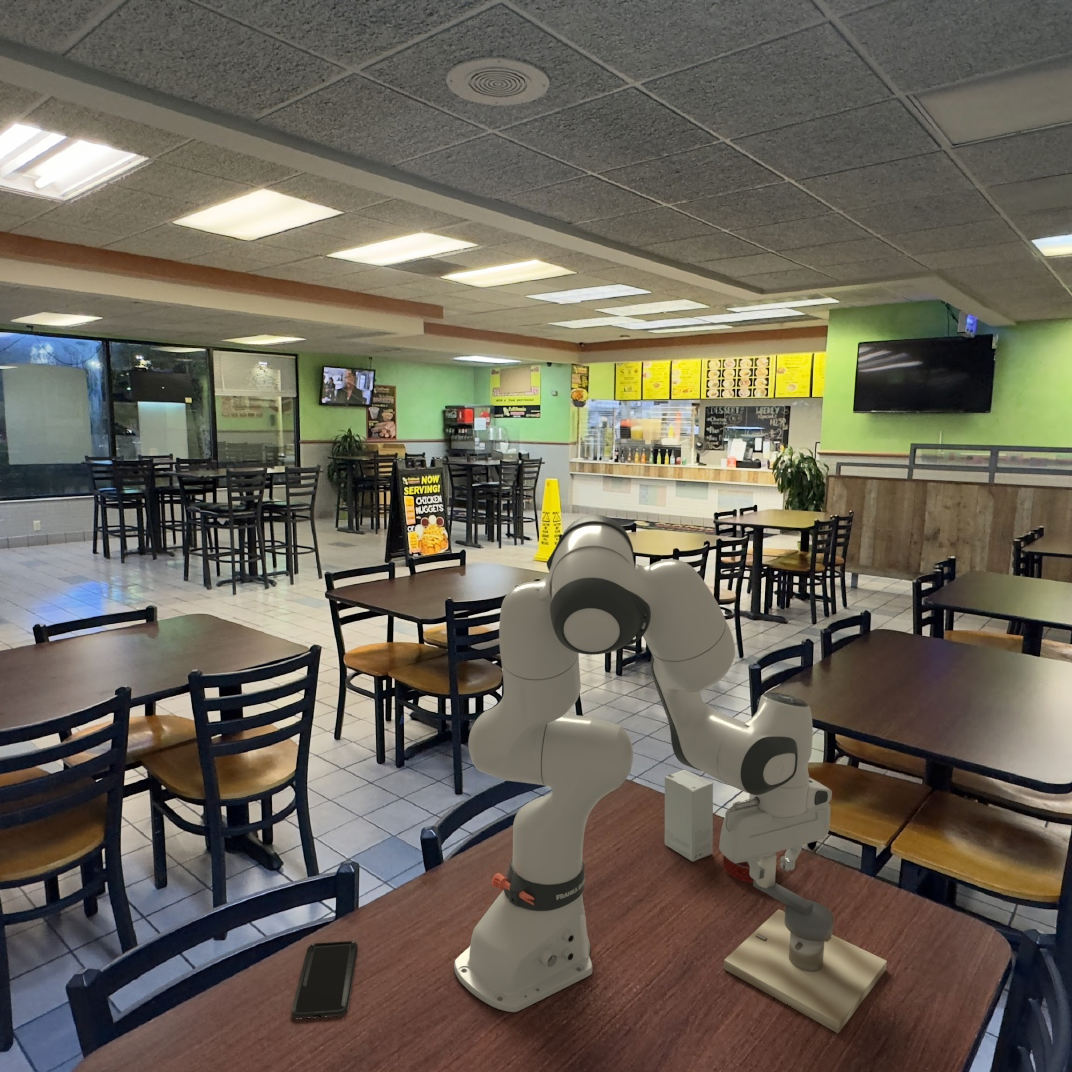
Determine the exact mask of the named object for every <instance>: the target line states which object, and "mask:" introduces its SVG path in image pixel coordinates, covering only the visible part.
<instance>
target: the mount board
mask: <svg viewBox="0 0 1072 1072" xmlns="http://www.w3.org/2000/svg"><path fill="white" fill-rule="evenodd" d="M784 919H785V910H784V911H783V910H782V909H777V910H776V911H775V912H774V913H773V914H772V915H771V916H770V917H769V918H768V919H766V921H764V922H763V923H762V924H761V925H760V926H759V927H758V928H757V929H756V930H755V931H754V932H752V933H751V934H750V935H749V936H748V937H747V938H745V940H744V941H743V942H742V943H741V944H739V945H738V946H737V947H736V948H735V949H734V950H733V951H732V952H731V953H729V955H727V956H726V958H725V959H724V960H723V969H724V970H725V971H726V972H728V973H730V974H732V975H734V976H736V977H737V978H739V979H741V980H743V981H744V982H746V983H748V984H750V985H752V986H754V987H755V988H757V989H759V990H760V991H762V992H763V993H766V994H767V995H770V996H771V997H773V998H774V997H775V998H774V999H777V1000H778V1001H780V1002H781V1003H783V1004H785V1005H787V1004H788V1005H787V1006H789V1007H790V1006H791V1007H790V1008H792V1009H794V1010H796V1011H798V1012H799V1013H801V1014H803V1015H804V1016H807V1017H809V1018H810V1019H812V1020H813V1021H815V1022H817V1023H819V1024H821V1025H823V1026H824V1027H825V1028H826V1029H827V1028H828V1029H829V1030H831V1031H833V1032H835V1033H836V1034H839V1033H840V1032H841V1031H842V1029H844V1027H845V1026H846V1024H847V1023H848V1021H849V1020H851V1017H852V1016H853V1014H854V1013H855V1012H856V1011H857V1010H858V1008H859V1007H860V1005H861V1004H862V1002H863V1001H864V1000H865V998H866V997H867V996H868V994H869V993H870V992H871V990H872V989H873V988H874V987H875V985H876V984H877V982H879V979H880V978H881V977H882V976H883V974H885V972H886V970H887V962H888V960H886V959H884V958H882V957H880V956H877V955H875V954H873V953H872V952H870V951H867V950H865V949H864V948H860V947H859V946H857V945H855V944H852V943H850V942H848V941H846V940H844V939H842V938H840V937H838V936H836V935H834V934H832V935H831V937H830V938H829V939H827V940H824V941H809V940H805V939H802V938H800V937H797V936H796V935H794V934H793V933H791V932H790V931H789V930H788V929H787V927H786V926H785V923H784Z"/></svg>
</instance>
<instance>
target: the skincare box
mask: <svg viewBox="0 0 1072 1072" xmlns="http://www.w3.org/2000/svg"><path fill="white" fill-rule="evenodd" d="M713 798H714V783H713V782H712V781H709V780H707V779H705V778H703V777H701V776H698V775H696V774H694V773H692V772H691V771H688V770H686V769H683V770H680V771H677V772H673V773H671V774H668V775H666V776H664V845H665V846H666V847H668V848H670V849H672V850H673V851H675V852H676V853H678V854H679V855H681V856H682V857H684V858H686V859H687V860H689V861H690V862H696V861H698V860H700V859H703V858H706V857H708V856H711V855H713V852H714V850H713V847H714V846H713V843H714V839H713V838H714V833H713V831H714V828H713V827H714V820H713V819H714V818H713V817H714V816H713V815H714V807H713V806H714V799H713Z"/></svg>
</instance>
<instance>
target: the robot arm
mask: <svg viewBox="0 0 1072 1072" xmlns="http://www.w3.org/2000/svg"><path fill="white" fill-rule="evenodd" d="M546 567H547V570H548V573H547V575H546V576H545V577H544V578H543V579H540V580H536V581H535V580H534V581H527V582H524V583H521V584H519V585H517V586H515V587H513V588H512V589H511V590H509V591H508V592H507V594H506V595H505V597H504V598H503V600H502V603H501V608H500V615H499V616H500V617H499V627H498V628H499V629H498V635H499V636H498V638H499V639H498V641H499V652H500V653H499V654H500V661H501V669H502V678H503V679H502V680H503V681H502V682H503V695H502V698H501V699H500V701H499V702H498V703H497V704H496V705H494V706H493V707H492V708H490V709H487V710H485V711H483V713H481V714H480V715H479V716H478V717H477V718H476V720H475V721H474V722H473V724H472V726H471V729H470V731H469V734H468V735H469V736H468V753H469V757H470V759H471V761H472V764H473V766H474V767H475V768H476V770H477V771H479V772H481V773H484V774H486V775H489V776H491V777H495V778H498V779H501V780H503V781H509V782H517V783H524V784H525V783H526V784H531V785H532V784H533V785H539V786H545V787H548V788H550V789H551V792H550V793H548V794H545V795H543V796H540V797H537V798H535V799H533V800H530V801H529V802H527V803H526V804H524V805H523V806H522V807H521V808H519V810H518V812H517V813H516V815H515V817H514V819H513V820H514V821H513V823H512V858H511V861H510V863H509V867H508V869H507V872H506V877H505V876H504V875H503V874H502V873H500V872H497V873H495V874H494V875H493V878H492V879H491V884H492V886H493V887H495V888H498V889H499V891H501V893H500V894H499V895H498V896H497V897H496V898H495V900H494V902H493V903H492V904H491V906H490V907H489V908H488V910H487V911H486V912H485V914H484V915H483V916H482V918H481V919H480V920H479V921H478V922H477V924H476V925H475V927H474V928H473V930H472V931H473V932H472V934H471V939H470V945H469V946H468V947H467V948H466V949H465V950H464V951H463V952H462V953H460V955H458V957H456V959H455V960H454V966H453V968H454V973H455V976H456V977H457V979H458V980H459V982H460V983H461V984H462V986H464V987H465V988H466V990H468V992H470V993H471V994H472V995H474V996H475V997H476V998H478V999H479V1000H480V1001H482V1002H484V1003H485V1004H487V1005H489V1006H491V1007H492V1008H495V1009H497V1010H501V1011H505V1012H510V1013H517V1012H520V1011H521V1010H524V1009H526V1008H528V1007H530V1006H532V1005H533V1004H535V1003H538V1002H539V1001H542V1000H544V999H546V998H547V997H549V996H552V995H554V994H556V993H557V992H560V991H562V990H563V989H565V988H568V987H570V986H572V985H573V984H576V983H577V982H579V981H581V980H583V979H586V978H587V977H590V976H591V975H592V974H593V963H592V960H591V958H590V957H591V956H590V952H591V943H590V938H589V936H588V929H587V918H586V911H585V906H584V900H583V894H584V890H585V883H586V882H585V881H586V873H585V863H584V861H583V852H584V851H583V850H584V849H583V848H584V838H585V830H586V825H587V822H588V819H589V816H590V814H591V812H592V810H593V808H595V806H596V805H597V804H598V802H600V800H601V799H603V798H604V797H605V796H606V795H608V794H609V793H611V792H613V791H615V790H617V789H618V788H620V787H621V786H622V785H623V784H624V782H625V781H626V780H627V779H628V777H629V775H630V773H631V770H632V767H633V763H634V748H633V744H632V740H631V738H630V736H629V734H628V732H627V731H626V729H625V728H623V726H622V725H619V724H616V723H615V722H611V721H608V720H605V719H602V718H598V717H595V716H586V715H578V714H577V715H576V714H568V712H569V711H570V710H571V709H572V708H573V706H574V705H575V704H576V702H577V701H578V699H579V696H580V694H581V685H582V684H581V676H580V674H581V671H580V658H579V657H580V656H579V654H582V655H590V656H592V655H593V656H594V655H603V654H607V653H608V654H609V653H612V652H616V651H617V650H620V649H621V648H623V647H625V646H631V645H634V644H636V643H637V642H638V641H639V640H640V639H642V638H644V639H643V640H644V641H645V643H646V645H647V647H648V650H649V651H650V653H651V656H650V671H651V676H652V679H653V682H654V685H655V688H656V692H657V694H658V696H659V698H660V701H661V702H660V703H661V704H662V707H663V710H664V713H665V714H666V719H667V723H668V725H669V730H670V731H669V732H670V741H671V746H672V750H673V751H672V752H673V753H674V755H675V758H676V759H677V760H678V761H679V763H681V764H683V765H684V766H687V767H688V768H692V769H694V770H697V771H700V772H703V773H705V774H707V775H709V776H711V777H713V778H714V779H716V780H719V781H721V782H723V783H725V784H727V785H730V786H732V787H733V788H736V789H737V790H740V791H742V792H744V793H747V794H748V795H749V796H748V797H749V798H748V799H746V800H742V801H740V800H739V801H736V802H734V803H733V804H732V806H731V807H729V809H728V810H726V811H725V814H724V819H723V822H722V826H721V831H720V838H719V846H718V848H719V851H720V852H721V853H722V854H721V855H723V856H725V857H727V858H728V859H729V860H731V861H732V862H733V863H740V862H744V861H747V862H748V864H749V866H750V872H749V874H750V876H751V877H752V878H753V879H754V880H760V879H763V878H764V875H763V874H764V870H765V869H763V868H762V867H760V866H759V865H758V862H760V860H761V856H765V855H768V854H772V853H778V852H782V851H785V853H784V855H782V856H780V863H779V867H780V868H781V869H783V870H784V871H785V872H789V871H792V870H795V868H796V860H797V859H798V857H799V855H800V854H801V852H802V850H803V845H806V844H810V843H815V842H817V841H821V840H824V839H825V838H826V837H827V835H828V833H829V830H830V824H831V809H832V808H831V805H830V803H831V801H832V797H833V791H832V789H830V788H829V787H827V786H825V785H823V784H822V783H820V782H819V781H817V780H815V779H813V778H812V777H810V773H809V769H808V766H809V761H810V759H811V757H812V754H813V753H812V751H813V750H812V749H813V739H814V738H813V737H814V736H813V731H814V730H813V725H814V724H813V717H812V716H813V714H812V709H811V707H810V705H809V704H808V703H807V702H805V701H804V700H802V699H800V698H798V697H795V696H792V695H789V694H785V693H781V692H772V691H771V692H768V691H767V692H765V693H763V694H762V695H761V696H760V698H759V699H760V700H759V702H758V706H757V711H756V712H755V713H754V715H753V716H752V717H751V718H749V719H748V720H747V721H743V720H740V719H737V718H735V717H732V716H730V715H727V714H725V713H722V712H721V711H719V710H716V709H714V708H713V707H711V706H709V704H707V703H705V702H704V700H703V699H702V696H701V691H704V690H706V689H709V688H711V687H712V686H714V685H716V684H717V683H718V682H719V681H721V680H722V679H723V678H724V677H725V676H726V674H728V672H729V670H730V669H731V667H732V665H733V662H734V659H735V655H736V647H735V641H734V637H733V633H732V631H731V628H730V627H729V624H728V622H727V619H726V617H725V615H724V613H723V611H722V609H721V606H720V605H719V603H718V601H717V600H716V598H715V596H714V594H713V593H712V591H711V590H710V588H709V586H708V585H707V584H706V582H705V580H704V579H703V578H702V576H701V575H700V574H699V573H698V572H697V570H696V568H694V567H693V566H692V565H690V564H689V563H687V562H685V561H683V560H679V559H675V558H673V559H671V558H669V559H662V560H658V561H656V562H653V563H652V564H650V565H641V564H639V563H636V564H635V561H634V546H633V543H632V541H631V538H630V536H629V533H627V531H626V529H625V528H624V527H623V525H621V524H620V523H619V522H618V521H616V520H615V519H613V518H611V517H609V516H606V515H601V514H589V515H584V516H581V517H579V518H577V519H575V520H574V521H573V522H572V523H571V524H570V525H569V526H568V527H567V528H566V530H564V532H563V533H562V535H561V537H560V538H559V540H558V542H557V543H556V545H555V547H554V549H553V551H552V552H551V554H550V556H549V558H548V559H547V560H546Z"/></svg>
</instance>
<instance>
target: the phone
mask: <svg viewBox="0 0 1072 1072" xmlns="http://www.w3.org/2000/svg"><path fill="white" fill-rule="evenodd" d="M358 948H359V947H358V942H356V941H354V940H349V941H348V940H347V941H344V940H343V941H331V942H317V943H316V942H315V943H312V944H310V945H309V946H308V947H307V949H306V952H305V956H304V960H303V965H302V968H301V973H300V976H299V979H298V983H297V987H296V991H295V995H294V1000H293V1002H292V1003H293V1004H292V1008H291V1016H293V1017H294V1018H308V1017H310V1018H312V1019H314V1018H313V1017H319V1016H321V1017H325V1016H327V1017H325V1018H335V1016H338V1017H342V1016H345V1015H346V1014H347V1013H348V1011H349V1005H350V1000H351V995H352V987H353V981H354V975H355V967H356V962H357V957H358ZM332 1016H334V1017H332ZM293 1017H292V1018H293ZM294 1018H293V1019H294Z"/></svg>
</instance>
